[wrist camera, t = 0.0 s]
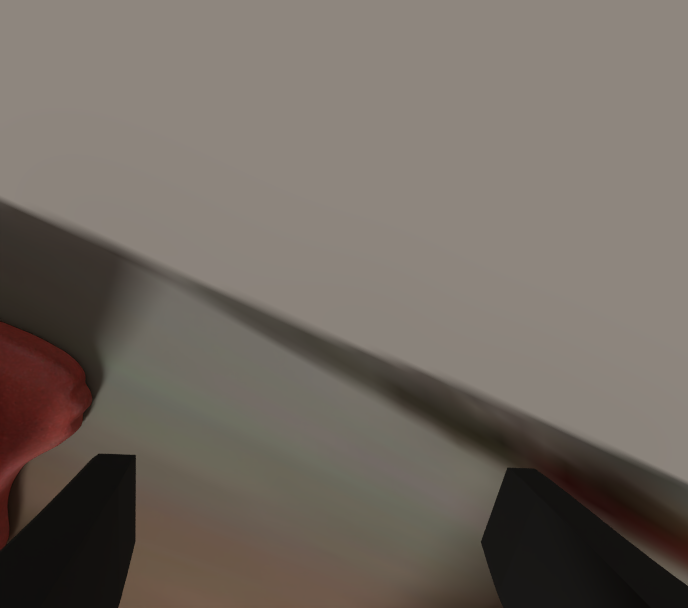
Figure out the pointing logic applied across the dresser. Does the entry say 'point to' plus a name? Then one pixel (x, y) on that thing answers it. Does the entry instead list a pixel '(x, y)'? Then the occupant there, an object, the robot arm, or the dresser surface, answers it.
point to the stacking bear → (34, 404)
